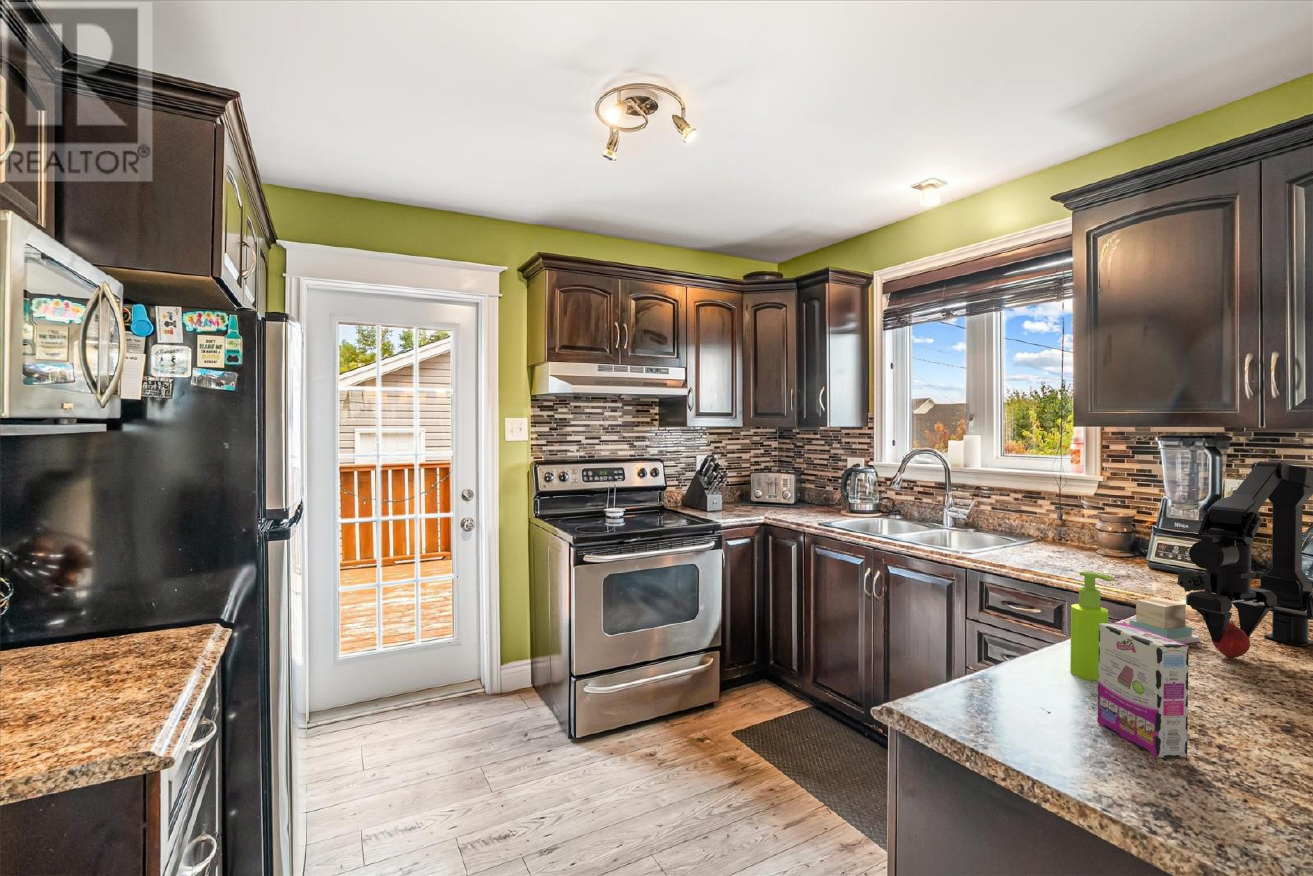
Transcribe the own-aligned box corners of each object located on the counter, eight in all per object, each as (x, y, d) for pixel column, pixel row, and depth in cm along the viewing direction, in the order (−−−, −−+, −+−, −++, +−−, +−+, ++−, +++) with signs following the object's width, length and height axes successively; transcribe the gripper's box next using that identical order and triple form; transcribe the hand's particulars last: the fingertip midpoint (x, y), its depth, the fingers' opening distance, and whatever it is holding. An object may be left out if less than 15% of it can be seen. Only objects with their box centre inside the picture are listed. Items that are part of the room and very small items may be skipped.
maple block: (1156, 618, 144) (1156, 597, 144) (1185, 626, 139) (1185, 604, 139) (1136, 621, 142) (1136, 599, 142) (1164, 629, 136) (1164, 606, 136)
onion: (1257, 665, 123) (1258, 625, 123) (1224, 662, 124) (1224, 623, 124) (1236, 654, 129) (1236, 617, 129) (1204, 652, 130) (1205, 615, 130)
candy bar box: (1190, 758, 88) (1191, 645, 87) (1158, 760, 87) (1159, 646, 87) (1124, 721, 99) (1125, 621, 98) (1095, 723, 98) (1096, 622, 98)
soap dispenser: (1103, 685, 113) (1104, 578, 113) (1063, 672, 119) (1065, 570, 119) (1120, 680, 115) (1121, 575, 115) (1080, 667, 122) (1081, 567, 121)
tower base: (1151, 627, 147) (1151, 615, 147) (1199, 641, 137) (1199, 628, 137) (1122, 631, 144) (1122, 619, 144) (1169, 646, 134) (1169, 632, 134)
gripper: (1215, 555, 137) (1214, 623, 137) (1158, 560, 131) (1157, 632, 131) (1279, 565, 127) (1278, 640, 127) (1219, 571, 121) (1218, 649, 121)
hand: (1230, 639), depth 127 cm, fingers open, 9 cm apart
